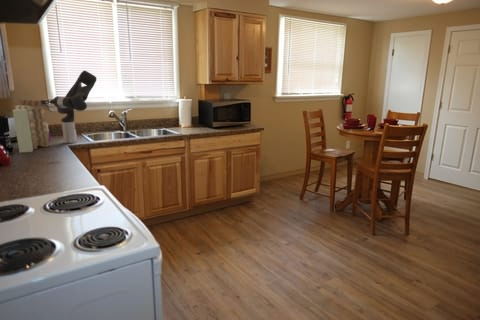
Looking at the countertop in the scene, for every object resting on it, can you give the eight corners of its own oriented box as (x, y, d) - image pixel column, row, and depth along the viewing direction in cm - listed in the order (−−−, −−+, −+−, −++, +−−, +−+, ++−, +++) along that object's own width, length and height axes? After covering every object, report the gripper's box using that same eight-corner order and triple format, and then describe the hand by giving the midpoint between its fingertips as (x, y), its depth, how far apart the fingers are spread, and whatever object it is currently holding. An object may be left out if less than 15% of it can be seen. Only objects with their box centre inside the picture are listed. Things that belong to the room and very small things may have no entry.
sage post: (20, 150, 238) (13, 109, 231) (32, 149, 242) (26, 109, 235) (19, 152, 232) (12, 110, 224) (32, 151, 236) (26, 110, 228)
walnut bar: (20, 105, 247) (19, 99, 246) (25, 104, 251) (25, 99, 250) (41, 106, 237) (41, 100, 236) (47, 105, 240) (46, 100, 239)
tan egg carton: (20, 147, 251) (14, 105, 244) (36, 144, 262) (30, 104, 254) (34, 148, 245) (27, 106, 237) (49, 146, 255) (43, 105, 248)
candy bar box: (36, 143, 267) (33, 123, 264) (33, 142, 270) (30, 123, 266) (50, 141, 276) (48, 122, 273) (47, 140, 279) (45, 121, 275)
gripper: (71, 96, 229) (55, 95, 236) (52, 97, 217) (36, 96, 223) (72, 106, 231) (57, 106, 238) (53, 108, 219) (38, 107, 225)
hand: (47, 101), depth 231 cm, fingers open, 8 cm apart
